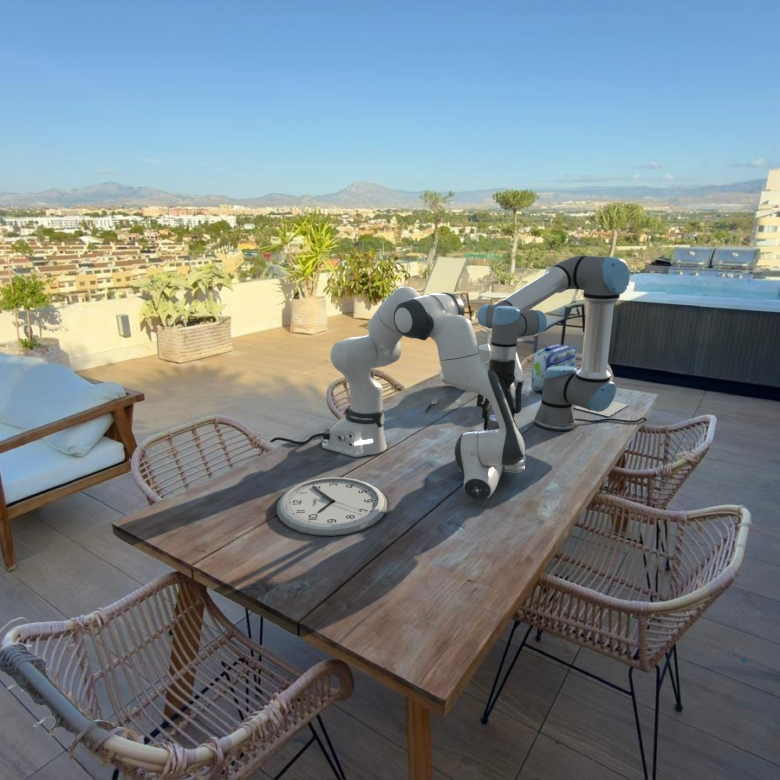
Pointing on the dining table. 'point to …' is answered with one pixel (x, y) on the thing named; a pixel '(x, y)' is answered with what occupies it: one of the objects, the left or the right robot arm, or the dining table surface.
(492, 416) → the lid
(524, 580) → the dining table surface
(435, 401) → the fork
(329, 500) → the wall clock
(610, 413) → the invitation card
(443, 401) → the dining table surface
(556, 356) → the lunch box
